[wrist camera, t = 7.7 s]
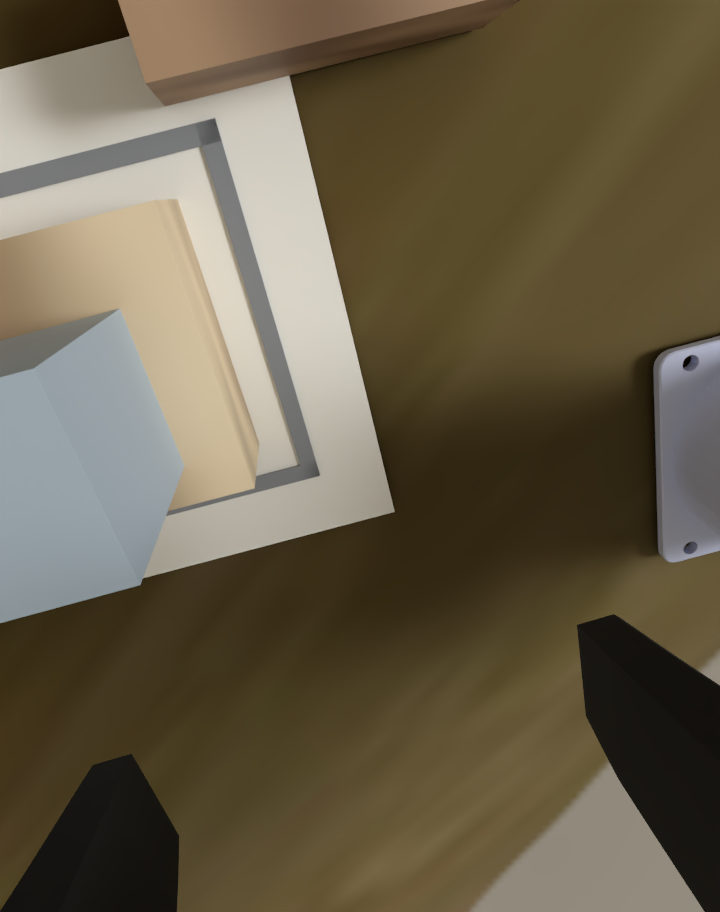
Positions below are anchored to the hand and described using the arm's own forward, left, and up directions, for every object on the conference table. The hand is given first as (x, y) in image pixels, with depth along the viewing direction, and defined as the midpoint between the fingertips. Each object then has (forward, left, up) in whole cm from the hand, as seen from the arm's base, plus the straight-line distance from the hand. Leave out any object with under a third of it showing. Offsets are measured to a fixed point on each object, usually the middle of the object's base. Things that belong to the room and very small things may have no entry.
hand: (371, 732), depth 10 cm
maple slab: (+5, -5, -10) cm, 12 cm away
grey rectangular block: (+5, -4, -7) cm, 10 cm away
